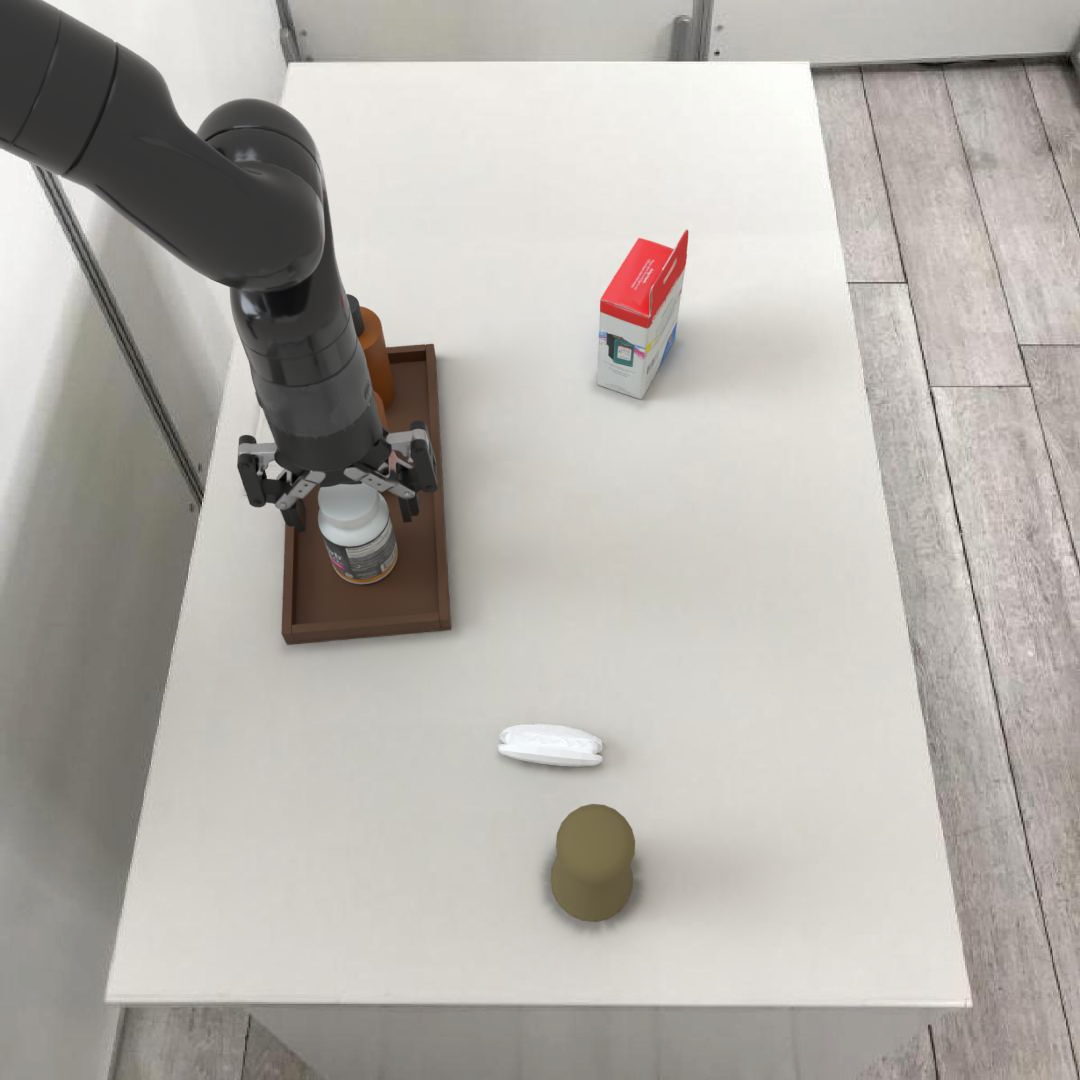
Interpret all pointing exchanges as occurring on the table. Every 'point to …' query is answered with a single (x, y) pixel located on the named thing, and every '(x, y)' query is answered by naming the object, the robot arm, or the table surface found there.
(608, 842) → the cork
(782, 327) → the table surface
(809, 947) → the table surface
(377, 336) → the amber bottle far
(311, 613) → the tray
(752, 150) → the table surface
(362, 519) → the pill bottle
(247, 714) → the table surface
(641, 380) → the ink box
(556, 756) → the sub sandwich
